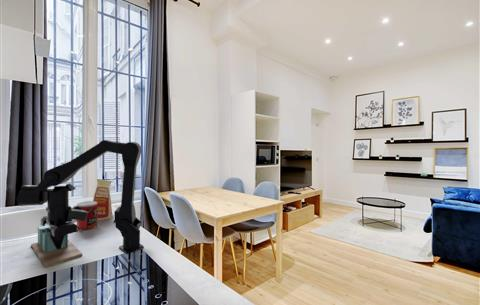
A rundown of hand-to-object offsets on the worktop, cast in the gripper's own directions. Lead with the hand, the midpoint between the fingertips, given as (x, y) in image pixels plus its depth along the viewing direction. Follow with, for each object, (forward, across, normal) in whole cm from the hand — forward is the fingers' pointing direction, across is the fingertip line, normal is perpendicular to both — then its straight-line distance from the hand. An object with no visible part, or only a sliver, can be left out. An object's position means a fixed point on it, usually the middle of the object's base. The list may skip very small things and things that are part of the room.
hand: (58, 248), depth 79 cm
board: (+2, +4, 0) cm, 4 cm away
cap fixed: (+1, +12, 0) cm, 12 cm away
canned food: (+1, +21, -15) cm, 26 cm away
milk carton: (+1, +31, -25) cm, 40 cm away
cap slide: (+1, +4, 0) cm, 5 cm away
